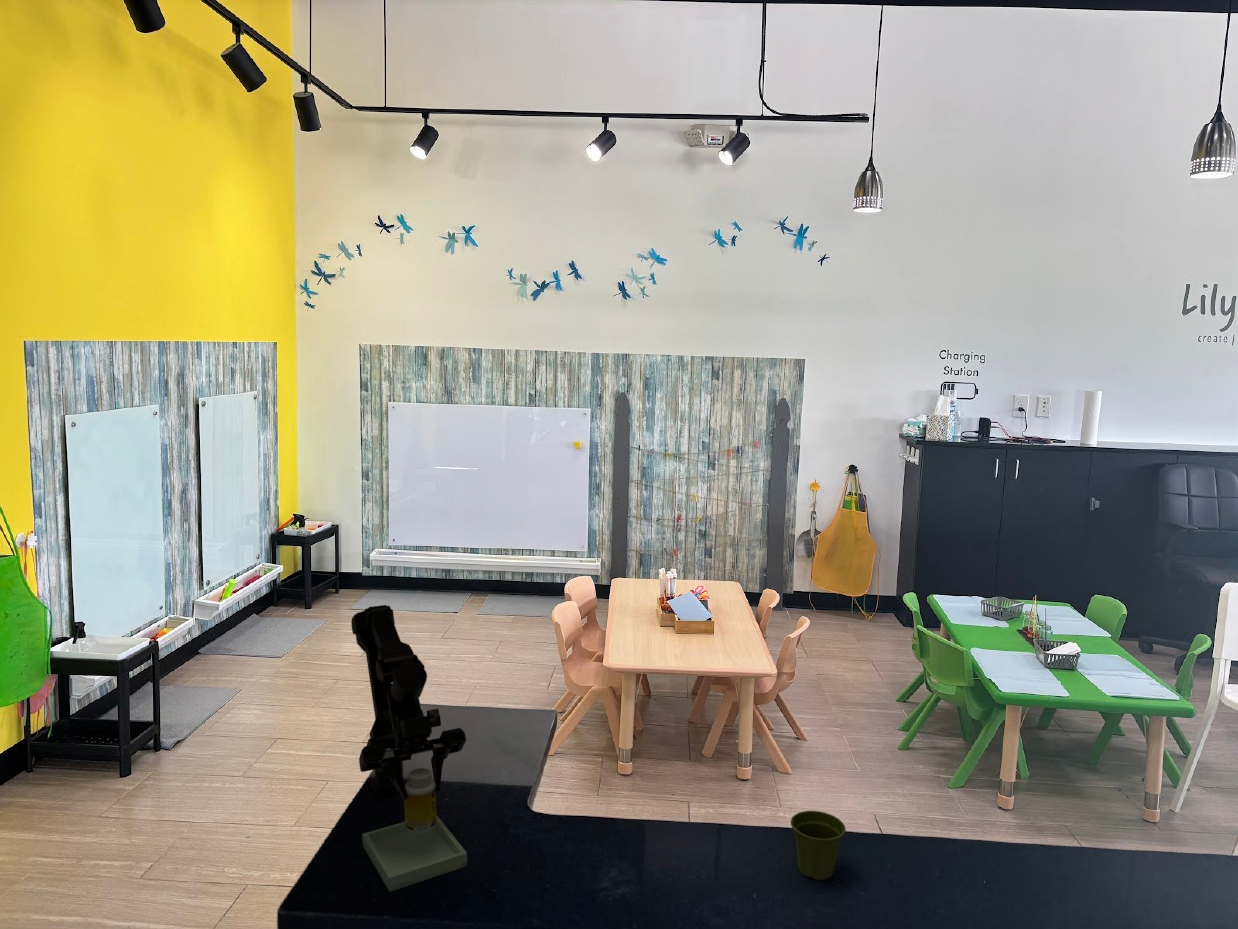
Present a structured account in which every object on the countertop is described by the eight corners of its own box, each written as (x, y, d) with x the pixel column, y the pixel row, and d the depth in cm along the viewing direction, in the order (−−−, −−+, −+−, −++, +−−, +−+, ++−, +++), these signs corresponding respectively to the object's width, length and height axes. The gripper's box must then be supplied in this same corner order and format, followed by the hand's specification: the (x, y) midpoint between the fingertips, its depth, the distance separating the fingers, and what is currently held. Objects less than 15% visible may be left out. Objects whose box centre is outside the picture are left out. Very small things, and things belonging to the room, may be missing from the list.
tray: (362, 846, 158) (362, 834, 158) (435, 825, 166) (434, 812, 166) (389, 892, 145) (389, 878, 145) (467, 866, 153) (466, 853, 152)
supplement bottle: (437, 832, 153) (436, 778, 152) (405, 837, 152) (404, 783, 150) (435, 816, 159) (434, 764, 157) (404, 820, 157) (403, 768, 156)
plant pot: (824, 851, 158) (826, 807, 157) (854, 880, 149) (856, 834, 148) (779, 860, 155) (781, 815, 154) (806, 891, 146) (808, 843, 145)
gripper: (360, 704, 151) (374, 792, 143) (462, 686, 160) (481, 768, 152) (353, 729, 159) (366, 813, 151) (451, 710, 168) (469, 789, 160)
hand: (422, 795), depth 153 cm, fingers closed on supplement bottle, 6 cm apart
